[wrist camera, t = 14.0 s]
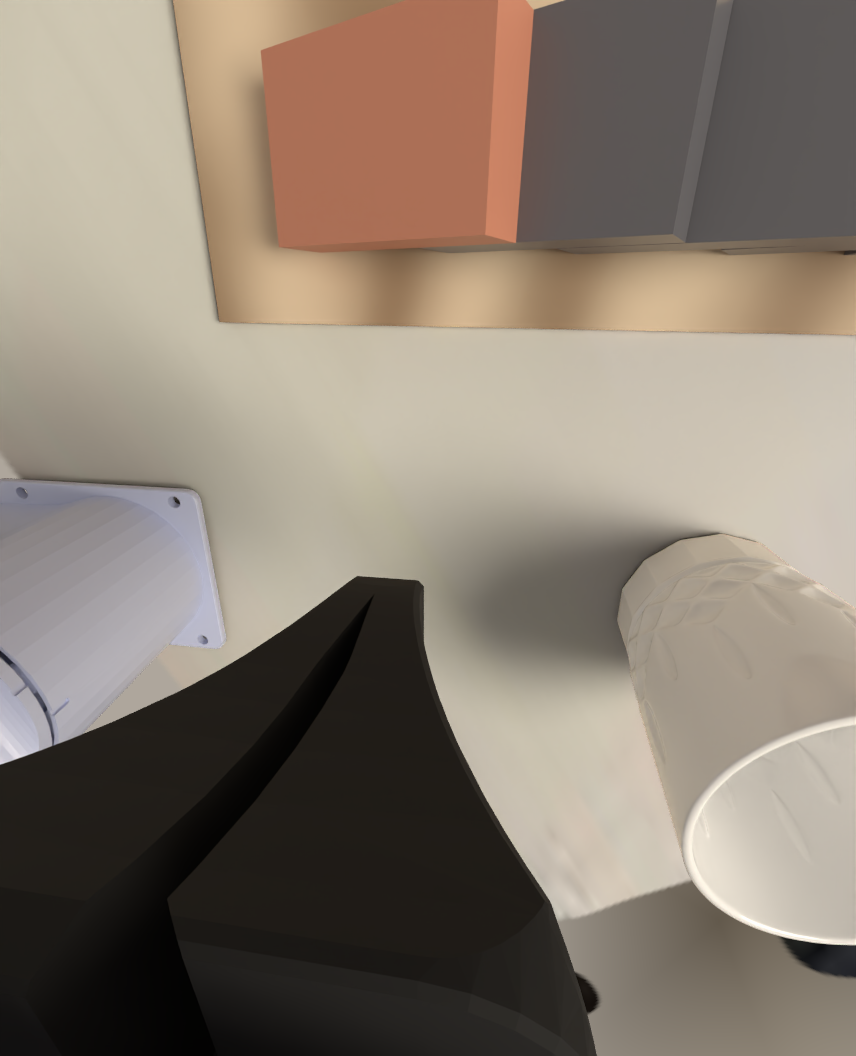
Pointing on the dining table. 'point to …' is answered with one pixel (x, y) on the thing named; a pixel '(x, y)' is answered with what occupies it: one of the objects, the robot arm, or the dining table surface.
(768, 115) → the domino
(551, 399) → the dining table surface
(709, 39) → the domino
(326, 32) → the rust domino
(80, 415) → the dining table surface
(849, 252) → the domino
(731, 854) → the white cup
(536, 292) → the cork strip
